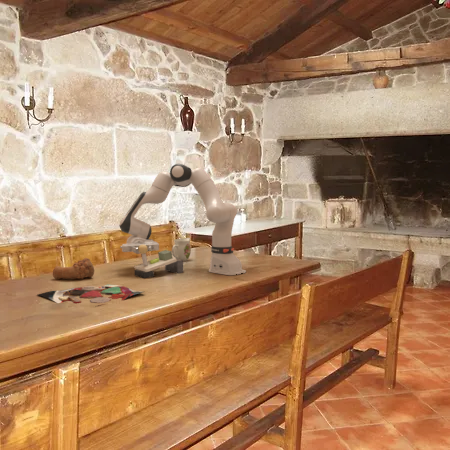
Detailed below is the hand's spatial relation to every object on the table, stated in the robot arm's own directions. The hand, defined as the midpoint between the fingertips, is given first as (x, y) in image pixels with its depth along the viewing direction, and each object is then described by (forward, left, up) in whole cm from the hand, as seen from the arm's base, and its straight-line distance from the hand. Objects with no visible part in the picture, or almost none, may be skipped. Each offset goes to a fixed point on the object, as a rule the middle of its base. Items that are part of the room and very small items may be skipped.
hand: (143, 249), depth 251 cm
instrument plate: (+1, -9, -10) cm, 13 cm away
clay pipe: (+19, +30, -15) cm, 38 cm away
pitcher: (+25, -44, -15) cm, 53 cm away
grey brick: (+1, -10, -15) cm, 18 cm away
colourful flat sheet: (-18, +39, -16) cm, 46 cm away
